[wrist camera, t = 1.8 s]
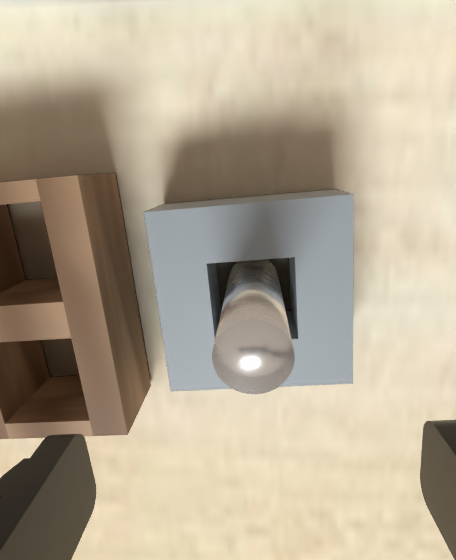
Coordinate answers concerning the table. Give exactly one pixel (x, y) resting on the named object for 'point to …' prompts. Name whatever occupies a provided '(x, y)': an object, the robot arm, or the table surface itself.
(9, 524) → the robot arm
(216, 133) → the table surface
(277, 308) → the steel rod
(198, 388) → the socket block
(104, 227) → the walnut rack
